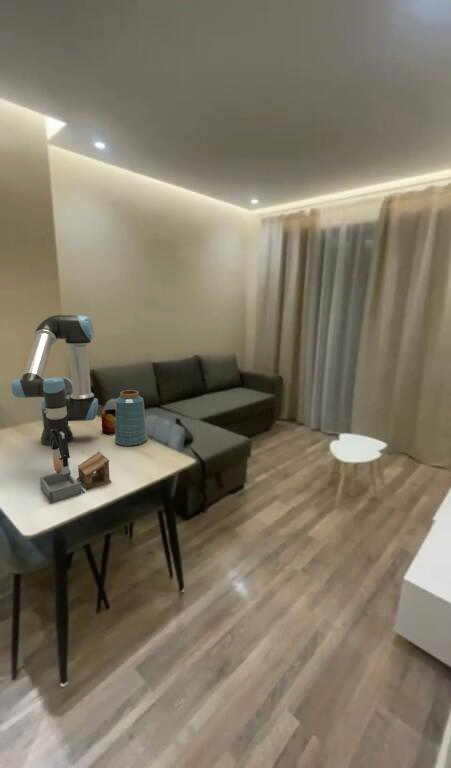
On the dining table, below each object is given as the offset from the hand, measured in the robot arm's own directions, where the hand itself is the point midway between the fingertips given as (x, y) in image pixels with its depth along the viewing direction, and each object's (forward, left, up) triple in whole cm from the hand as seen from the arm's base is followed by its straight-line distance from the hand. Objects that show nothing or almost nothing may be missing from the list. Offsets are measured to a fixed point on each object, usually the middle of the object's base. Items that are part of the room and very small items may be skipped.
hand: (61, 468), depth 141 cm
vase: (-20, +40, -4) cm, 45 cm away
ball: (-1, 0, +1) cm, 1 cm away
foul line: (+11, +3, -4) cm, 12 cm away
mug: (-39, +39, -4) cm, 55 cm away
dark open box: (-1, 0, -4) cm, 4 cm away
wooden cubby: (+11, +9, -4) cm, 15 cm away
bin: (+11, -3, -4) cm, 12 cm away
